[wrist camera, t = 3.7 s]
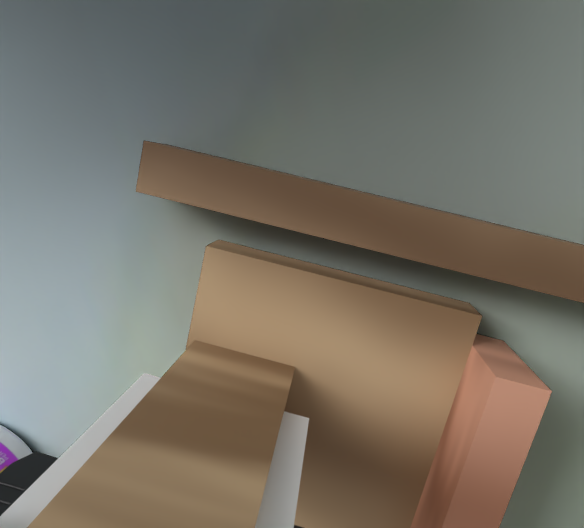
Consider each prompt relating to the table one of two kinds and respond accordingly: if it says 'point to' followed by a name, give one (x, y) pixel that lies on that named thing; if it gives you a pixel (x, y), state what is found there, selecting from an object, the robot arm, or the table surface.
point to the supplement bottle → (11, 448)
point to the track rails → (364, 220)
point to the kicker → (316, 409)
